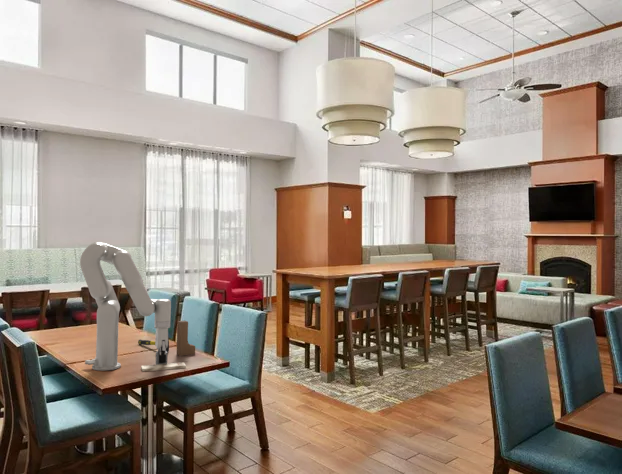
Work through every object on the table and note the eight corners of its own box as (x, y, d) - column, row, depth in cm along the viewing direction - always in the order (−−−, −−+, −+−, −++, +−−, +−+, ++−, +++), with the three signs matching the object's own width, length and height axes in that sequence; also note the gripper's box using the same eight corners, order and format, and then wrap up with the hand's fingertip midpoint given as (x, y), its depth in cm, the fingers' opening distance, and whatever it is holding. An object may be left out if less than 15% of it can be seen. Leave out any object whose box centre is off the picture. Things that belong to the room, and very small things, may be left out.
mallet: (134, 345, 280) (134, 328, 280) (144, 343, 285) (144, 327, 285) (161, 354, 261) (161, 336, 261) (171, 352, 265) (171, 335, 265)
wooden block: (192, 352, 266) (193, 319, 266) (195, 354, 262) (196, 320, 263) (176, 354, 261) (177, 320, 261) (179, 356, 257) (180, 322, 257)
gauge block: (156, 365, 236) (156, 353, 236) (155, 363, 240) (155, 351, 240) (167, 365, 238) (167, 352, 238) (166, 363, 242) (166, 350, 242)
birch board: (142, 371, 226) (142, 368, 226) (141, 368, 231) (141, 365, 231) (186, 367, 234) (186, 365, 234) (183, 364, 240) (183, 362, 240)
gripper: (152, 322, 245) (151, 358, 245) (156, 327, 230) (155, 366, 230) (167, 321, 248) (166, 357, 248) (173, 326, 233) (172, 365, 233)
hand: (161, 361), depth 239 cm, fingers closed on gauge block, 4 cm apart
